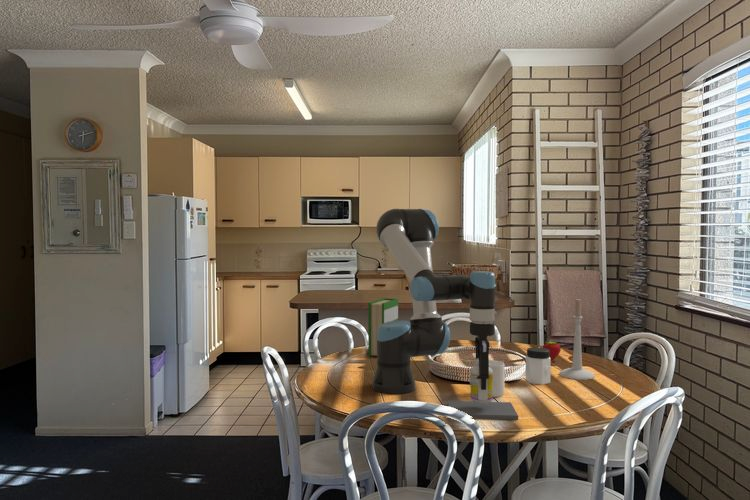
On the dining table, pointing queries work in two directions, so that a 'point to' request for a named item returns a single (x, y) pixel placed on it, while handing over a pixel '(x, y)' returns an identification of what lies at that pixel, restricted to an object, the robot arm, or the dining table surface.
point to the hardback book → (379, 319)
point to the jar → (538, 365)
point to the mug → (496, 377)
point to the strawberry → (552, 349)
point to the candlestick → (577, 351)
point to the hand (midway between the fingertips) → (481, 395)
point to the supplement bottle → (475, 383)
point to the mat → (486, 409)
